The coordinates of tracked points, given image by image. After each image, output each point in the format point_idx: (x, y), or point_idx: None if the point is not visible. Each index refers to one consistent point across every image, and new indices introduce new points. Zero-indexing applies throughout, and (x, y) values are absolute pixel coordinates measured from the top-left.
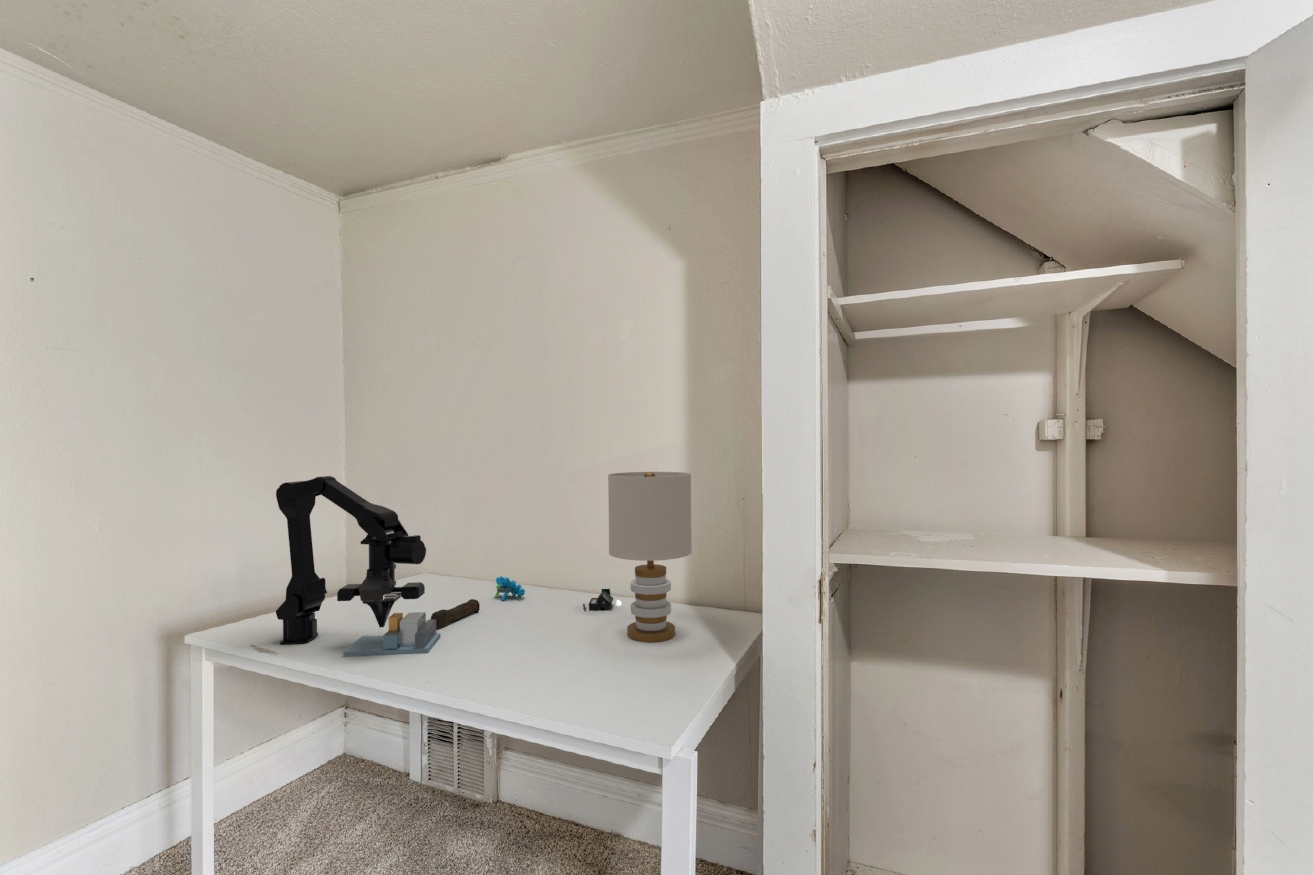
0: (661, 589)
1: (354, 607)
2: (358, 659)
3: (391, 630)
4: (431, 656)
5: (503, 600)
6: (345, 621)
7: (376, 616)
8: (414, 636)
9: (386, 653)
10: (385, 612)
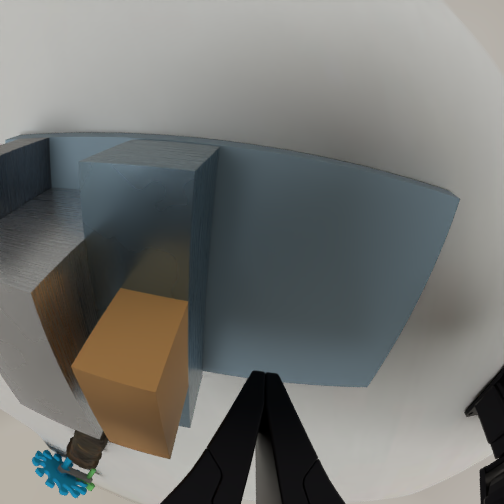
0: None
1: (359, 496)
2: (369, 100)
3: (163, 292)
4: (3, 86)
5: None
6: (387, 466)
7: (301, 445)
8: (30, 209)
9: (207, 140)
10: (206, 467)
